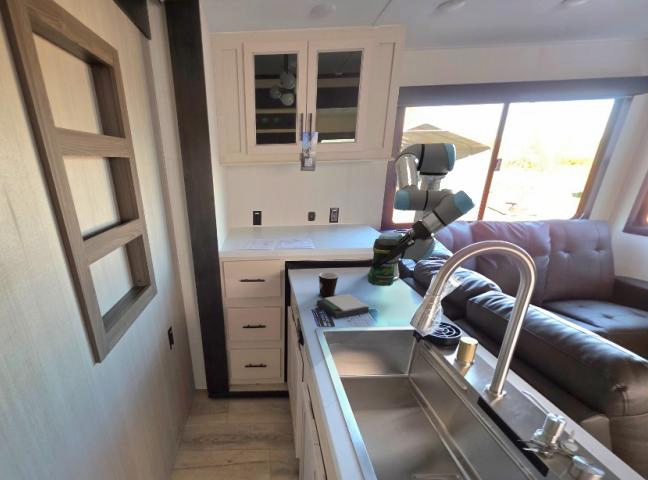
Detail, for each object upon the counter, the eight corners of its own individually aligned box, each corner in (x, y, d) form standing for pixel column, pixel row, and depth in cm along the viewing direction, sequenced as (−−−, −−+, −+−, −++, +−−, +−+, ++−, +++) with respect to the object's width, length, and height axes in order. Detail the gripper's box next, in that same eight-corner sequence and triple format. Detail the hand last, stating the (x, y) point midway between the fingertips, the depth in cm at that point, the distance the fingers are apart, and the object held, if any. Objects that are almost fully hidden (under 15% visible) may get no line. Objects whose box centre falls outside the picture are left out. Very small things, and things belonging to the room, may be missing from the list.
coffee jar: (369, 286, 126) (376, 241, 119) (365, 279, 133) (372, 236, 126) (394, 287, 125) (403, 241, 118) (389, 280, 132) (397, 236, 125)
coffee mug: (336, 299, 142) (338, 279, 138) (317, 298, 144) (318, 277, 139) (335, 290, 152) (337, 270, 148) (317, 289, 154) (319, 269, 150)
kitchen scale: (347, 299, 142) (348, 293, 141) (368, 312, 130) (369, 305, 129) (316, 305, 137) (317, 298, 135) (335, 319, 125) (336, 311, 123)
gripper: (419, 214, 123) (371, 250, 136) (421, 224, 106) (365, 264, 118) (431, 229, 124) (382, 263, 136) (435, 241, 106) (378, 279, 119)
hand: (374, 263), depth 127 cm, fingers closed on coffee jar, 8 cm apart
